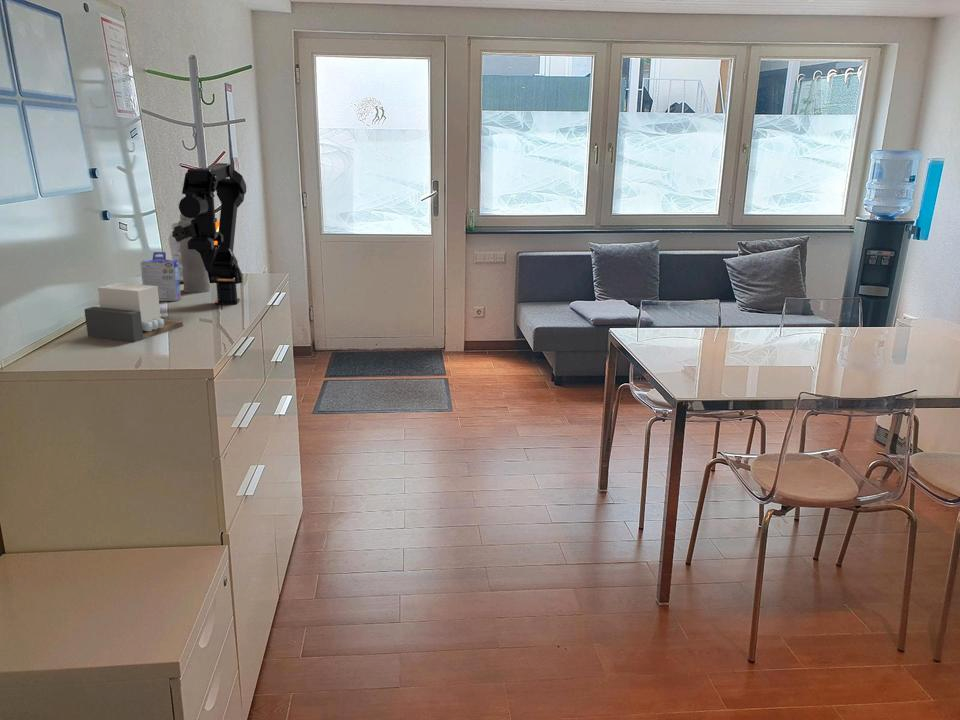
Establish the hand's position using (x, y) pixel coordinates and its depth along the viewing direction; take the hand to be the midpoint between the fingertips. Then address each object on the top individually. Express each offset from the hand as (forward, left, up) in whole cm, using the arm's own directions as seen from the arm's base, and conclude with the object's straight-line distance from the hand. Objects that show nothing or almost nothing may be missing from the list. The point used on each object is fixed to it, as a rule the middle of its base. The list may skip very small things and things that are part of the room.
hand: (208, 271), depth 212 cm
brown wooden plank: (+21, -14, -12) cm, 28 cm away
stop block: (+28, -18, -12) cm, 35 cm away
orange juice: (-62, -10, -12) cm, 64 cm away
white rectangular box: (+23, -15, -11) cm, 29 cm away
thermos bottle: (-34, -11, -12) cm, 38 cm away
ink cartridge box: (-19, -18, -12) cm, 29 cm away
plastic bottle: (-49, -19, -12) cm, 54 cm away
